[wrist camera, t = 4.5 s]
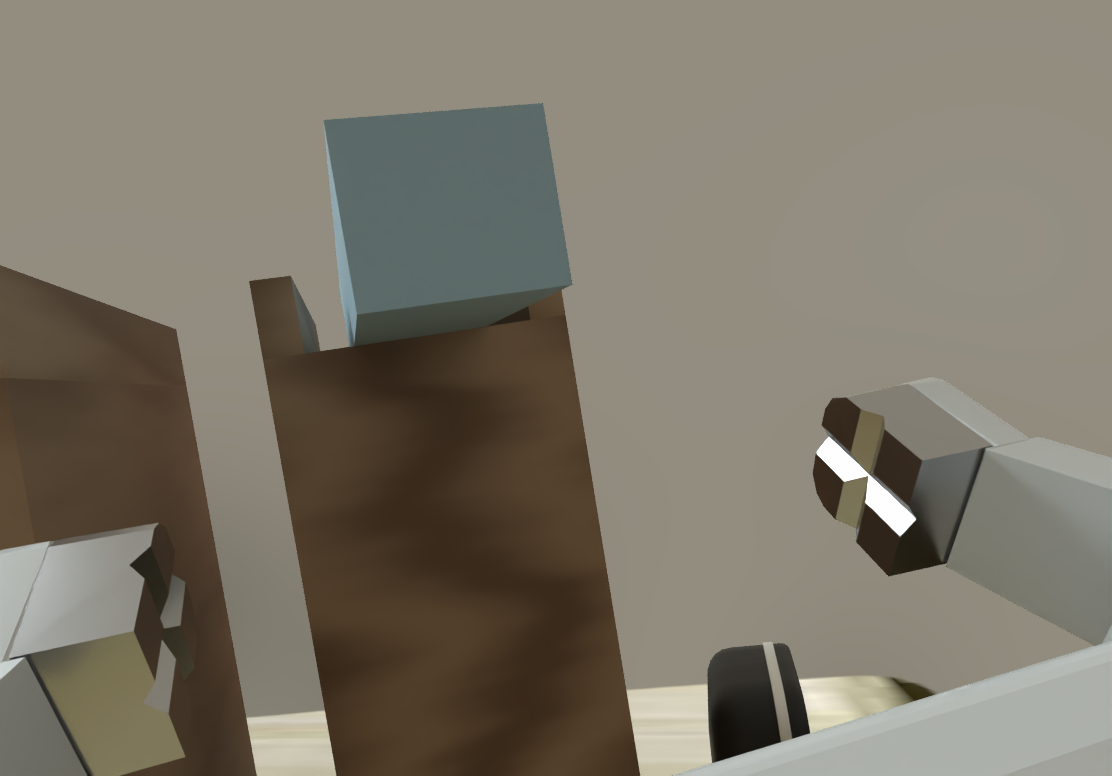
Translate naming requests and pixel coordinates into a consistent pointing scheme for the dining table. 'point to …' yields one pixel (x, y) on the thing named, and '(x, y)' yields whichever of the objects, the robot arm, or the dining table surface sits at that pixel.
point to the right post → (449, 546)
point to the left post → (116, 473)
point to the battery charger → (753, 700)
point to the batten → (443, 219)
